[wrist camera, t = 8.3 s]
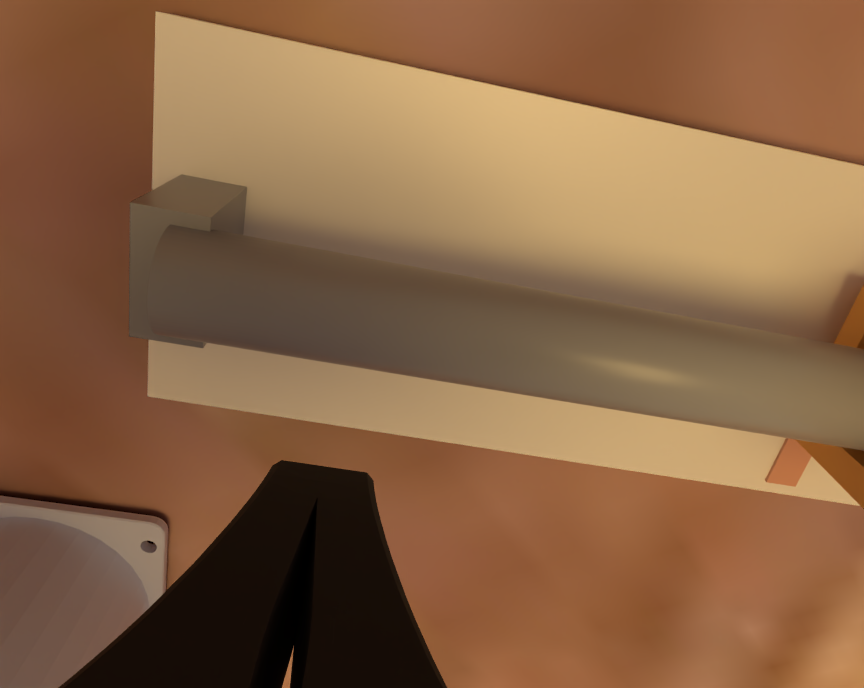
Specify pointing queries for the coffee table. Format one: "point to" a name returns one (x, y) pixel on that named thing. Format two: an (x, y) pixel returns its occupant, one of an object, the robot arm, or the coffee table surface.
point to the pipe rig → (492, 266)
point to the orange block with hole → (847, 466)
